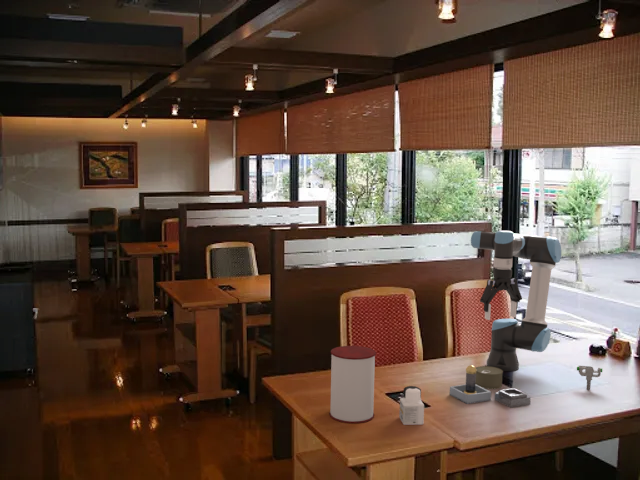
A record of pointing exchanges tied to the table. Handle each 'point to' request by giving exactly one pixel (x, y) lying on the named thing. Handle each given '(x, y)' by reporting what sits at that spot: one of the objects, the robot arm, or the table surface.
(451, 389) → the tray
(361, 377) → the container
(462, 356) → the table surface
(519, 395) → the recessed square block
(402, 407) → the container
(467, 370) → the strut
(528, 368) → the table surface
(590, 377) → the mechanical component
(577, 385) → the table surface
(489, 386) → the can
